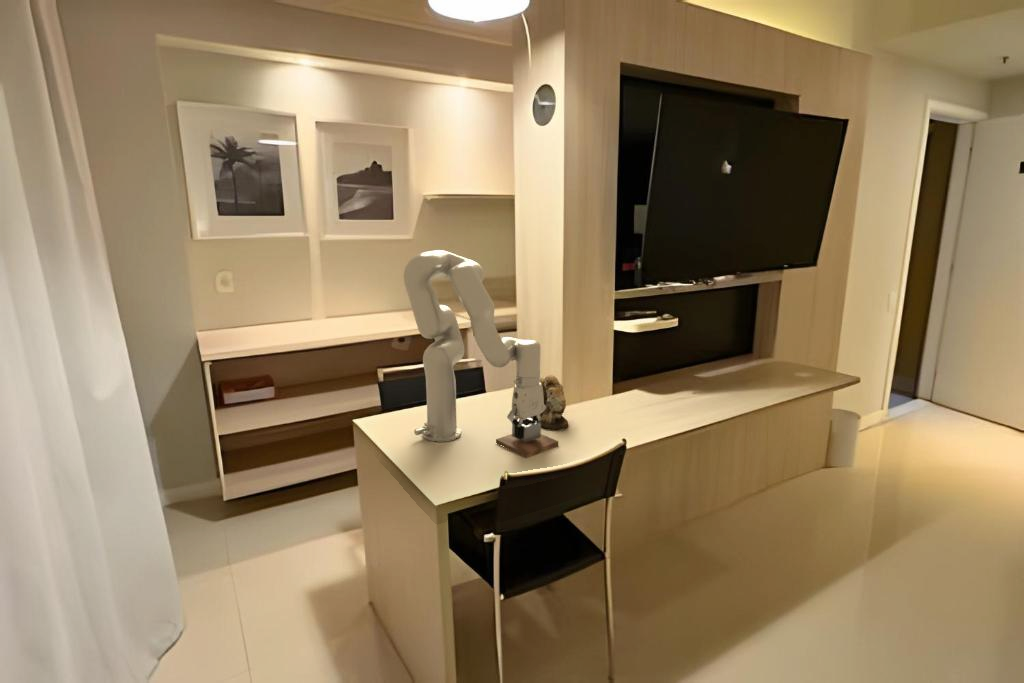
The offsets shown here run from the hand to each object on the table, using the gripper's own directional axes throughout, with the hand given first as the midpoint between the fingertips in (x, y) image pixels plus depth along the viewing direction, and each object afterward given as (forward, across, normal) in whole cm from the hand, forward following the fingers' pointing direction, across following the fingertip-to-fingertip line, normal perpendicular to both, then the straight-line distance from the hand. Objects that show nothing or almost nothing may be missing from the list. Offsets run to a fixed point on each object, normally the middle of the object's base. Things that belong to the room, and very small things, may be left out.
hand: (526, 434), depth 175 cm
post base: (+4, 0, 0) cm, 4 cm away
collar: (+1, 0, 0) cm, 1 cm away
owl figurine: (+4, +19, +10) cm, 22 cm away
